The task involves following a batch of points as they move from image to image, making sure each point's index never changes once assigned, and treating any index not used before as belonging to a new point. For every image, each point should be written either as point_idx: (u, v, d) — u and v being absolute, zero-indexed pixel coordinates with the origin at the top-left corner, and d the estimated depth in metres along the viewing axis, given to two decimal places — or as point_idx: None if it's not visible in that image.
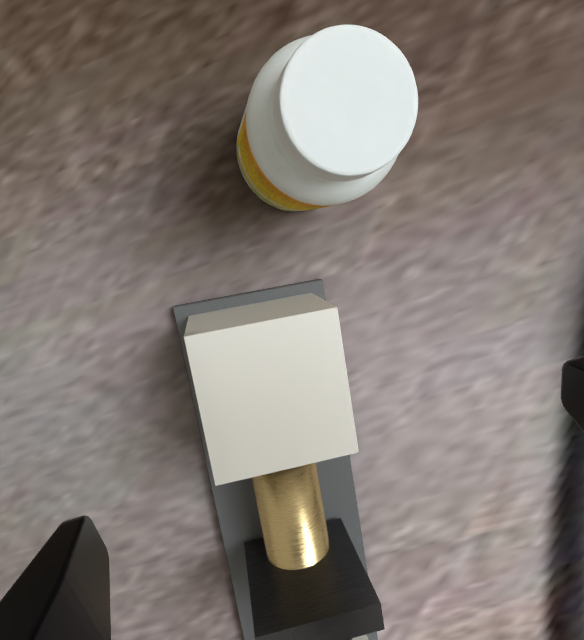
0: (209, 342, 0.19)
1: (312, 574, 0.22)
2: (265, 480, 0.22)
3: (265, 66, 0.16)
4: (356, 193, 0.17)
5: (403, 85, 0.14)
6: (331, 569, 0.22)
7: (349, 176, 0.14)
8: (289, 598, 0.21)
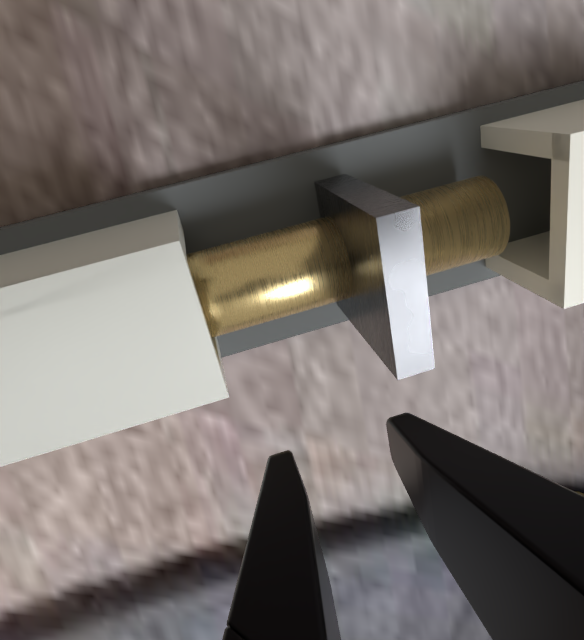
0: None
1: None
2: (497, 199, 0.17)
3: None
4: None
5: None
6: None
7: None
8: None
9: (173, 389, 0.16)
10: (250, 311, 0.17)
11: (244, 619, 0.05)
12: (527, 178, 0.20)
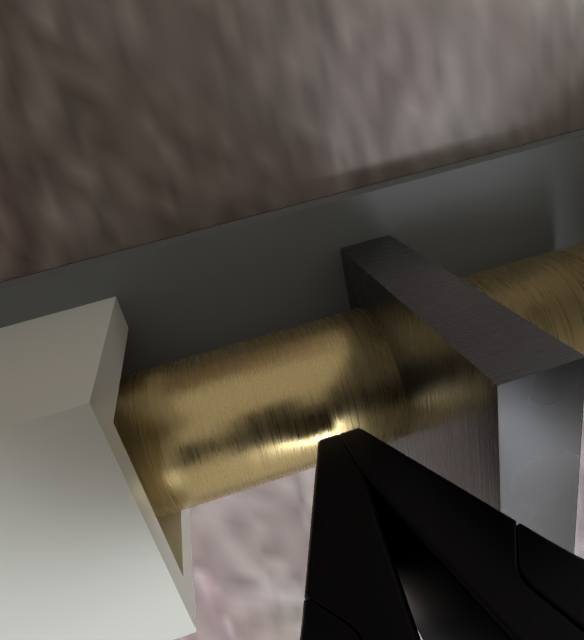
0: None
1: None
2: None
3: None
4: None
5: None
6: None
7: None
8: None
9: (97, 628, 0.09)
10: (237, 480, 0.10)
11: (323, 591, 0.06)
12: None
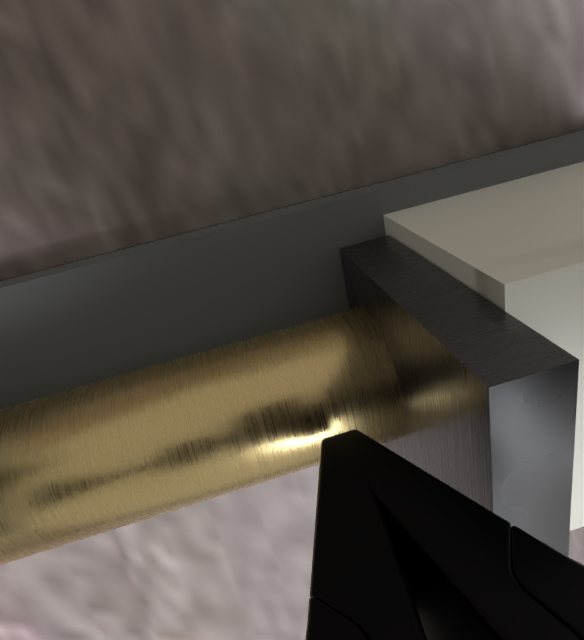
0: None
1: None
2: None
3: None
4: None
5: None
6: None
7: None
8: None
9: None
10: (233, 479, 0.10)
11: (328, 590, 0.06)
12: None
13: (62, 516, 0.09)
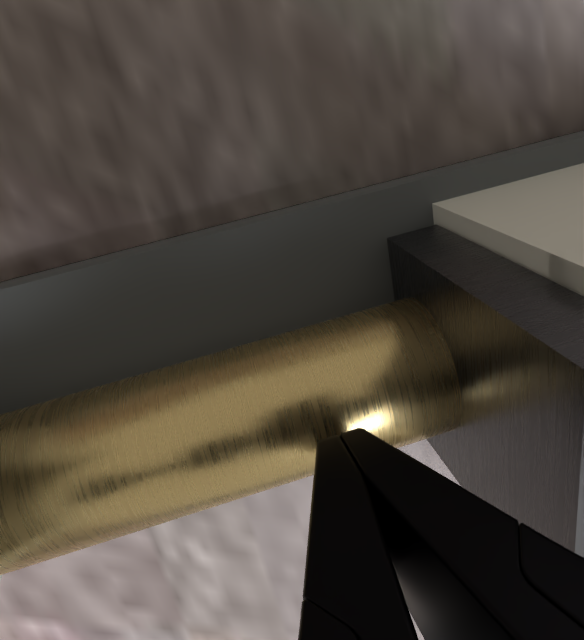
0: None
1: None
2: None
3: None
4: None
5: None
6: None
7: None
8: None
9: None
10: (288, 471, 0.10)
11: (321, 592, 0.06)
12: None
13: (117, 508, 0.09)
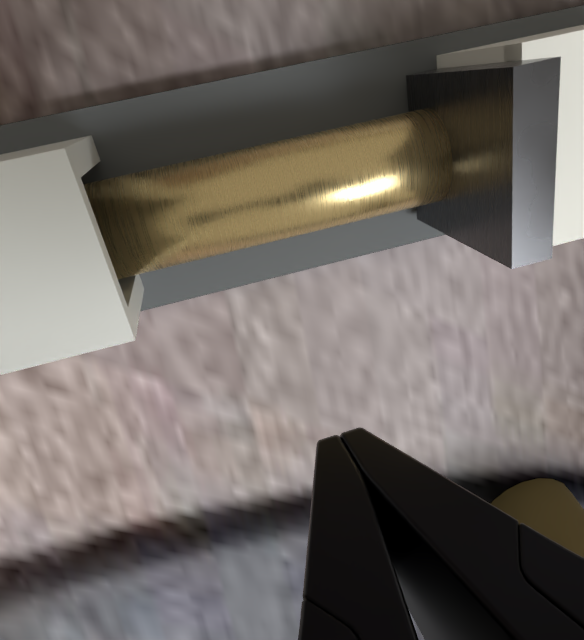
0: None
1: None
2: None
3: None
4: None
5: None
6: None
7: None
8: None
9: (70, 328, 0.14)
10: (343, 201, 0.15)
11: (321, 592, 0.06)
12: None
13: (240, 211, 0.15)
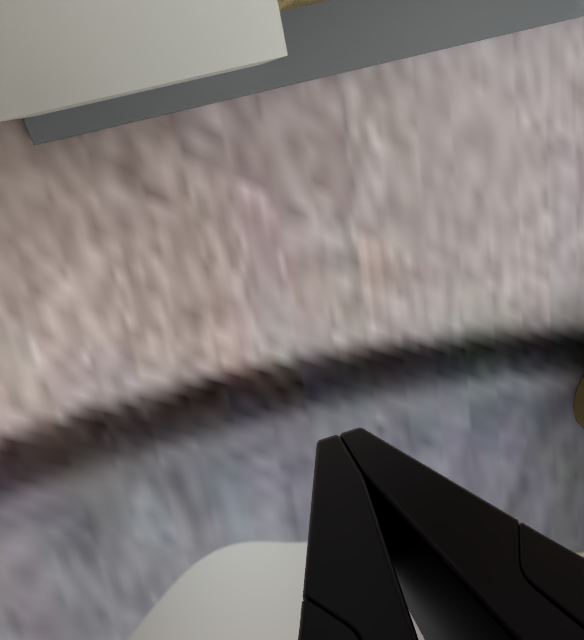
0: None
1: None
2: None
3: None
4: None
5: None
6: None
7: None
8: None
9: (217, 34, 0.12)
10: None
11: (320, 592, 0.06)
12: None
13: None
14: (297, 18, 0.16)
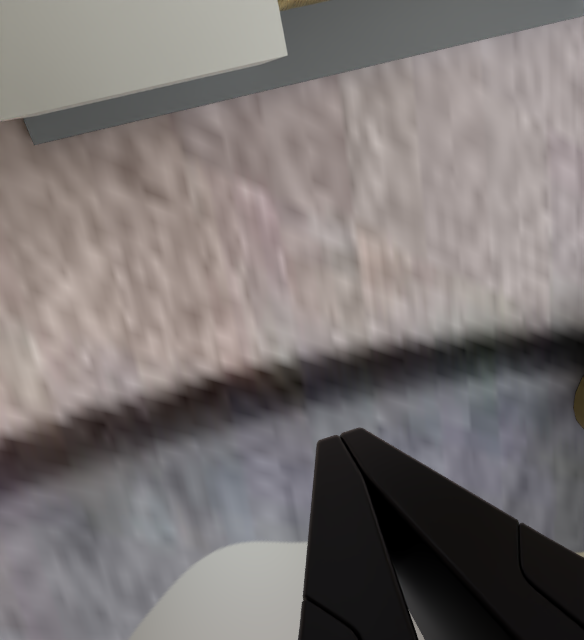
0: None
1: None
2: None
3: None
4: None
5: None
6: None
7: None
8: None
9: (217, 34, 0.12)
10: None
11: (321, 592, 0.06)
12: None
13: None
14: (297, 18, 0.16)
